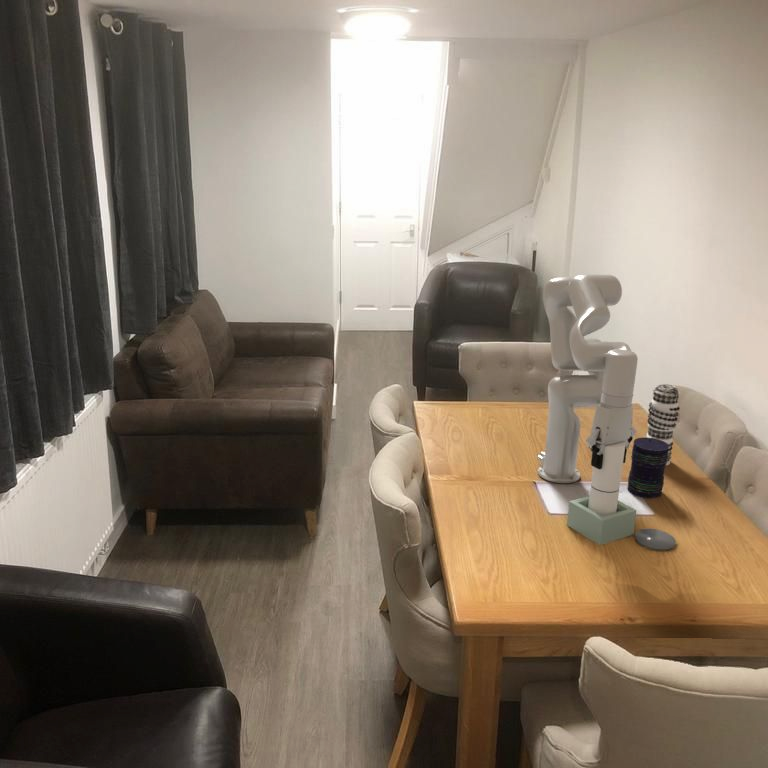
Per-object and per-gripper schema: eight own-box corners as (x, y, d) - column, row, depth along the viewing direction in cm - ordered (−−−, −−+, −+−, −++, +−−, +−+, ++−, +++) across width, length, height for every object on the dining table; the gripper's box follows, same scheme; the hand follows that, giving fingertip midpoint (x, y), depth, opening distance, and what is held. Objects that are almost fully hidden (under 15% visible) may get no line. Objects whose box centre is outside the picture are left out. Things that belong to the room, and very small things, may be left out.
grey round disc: (626, 536, 203) (626, 534, 202) (653, 528, 208) (653, 525, 207) (656, 554, 195) (657, 551, 194) (683, 545, 199) (684, 542, 199)
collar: (566, 525, 208) (569, 501, 206) (599, 515, 214) (602, 492, 212) (599, 545, 198) (602, 520, 196) (633, 534, 204) (636, 510, 202)
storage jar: (664, 500, 224) (671, 452, 219) (628, 496, 225) (635, 448, 221) (659, 485, 233) (666, 439, 228) (625, 482, 235) (631, 435, 230)
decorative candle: (667, 455, 255) (678, 382, 247) (674, 467, 246) (686, 392, 238) (638, 453, 255) (648, 381, 248) (644, 465, 247) (655, 390, 239)
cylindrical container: (594, 537, 202) (605, 448, 194) (580, 524, 208) (591, 437, 200) (618, 534, 204) (631, 446, 196) (604, 522, 210) (615, 435, 202)
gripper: (629, 389, 202) (621, 453, 207) (579, 399, 193) (572, 465, 199) (652, 398, 196) (643, 463, 201) (601, 409, 187) (593, 476, 193)
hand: (608, 463), depth 200 cm, fingers open, 7 cm apart
